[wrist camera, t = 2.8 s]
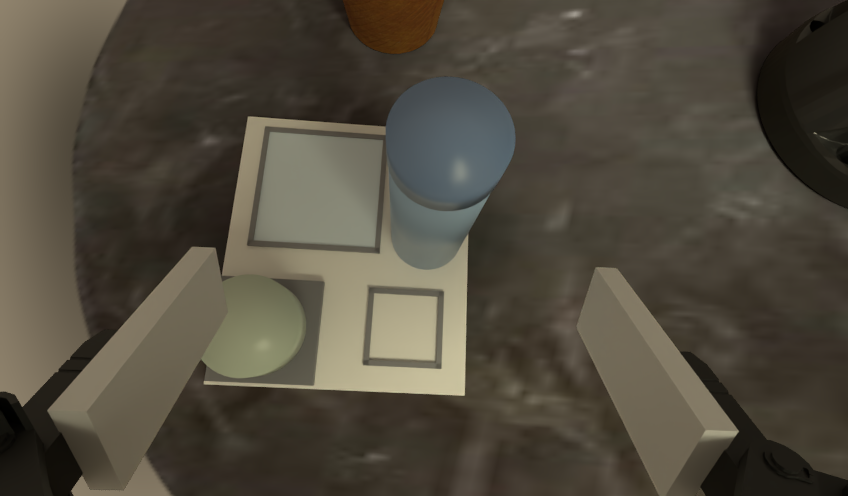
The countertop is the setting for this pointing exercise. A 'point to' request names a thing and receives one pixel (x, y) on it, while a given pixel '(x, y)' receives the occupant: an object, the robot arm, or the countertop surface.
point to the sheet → (342, 264)
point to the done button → (256, 328)
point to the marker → (443, 165)
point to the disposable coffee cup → (393, 23)
